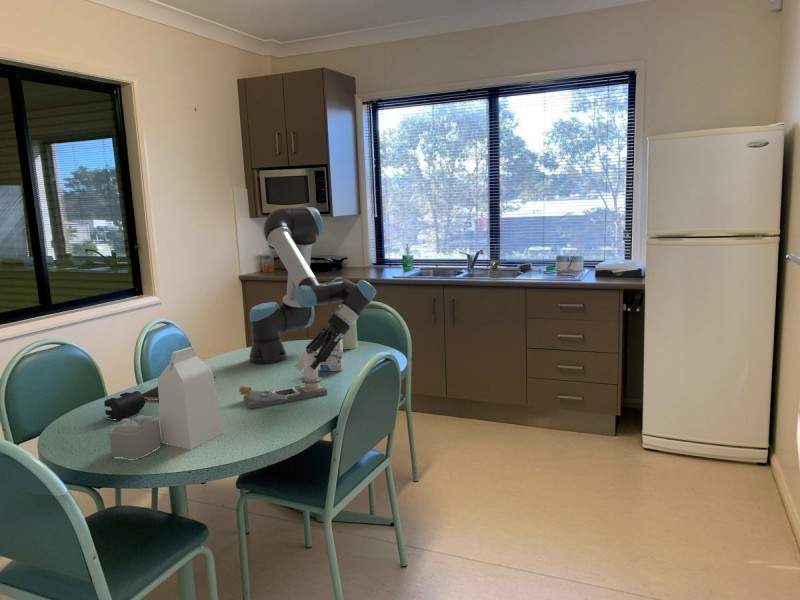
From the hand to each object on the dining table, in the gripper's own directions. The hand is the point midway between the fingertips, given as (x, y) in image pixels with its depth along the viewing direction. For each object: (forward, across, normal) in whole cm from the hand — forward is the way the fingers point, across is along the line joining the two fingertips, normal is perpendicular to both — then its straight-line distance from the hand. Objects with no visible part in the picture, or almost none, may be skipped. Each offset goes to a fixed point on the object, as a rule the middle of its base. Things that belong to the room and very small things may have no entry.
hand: (301, 372), depth 201 cm
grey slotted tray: (+10, 0, +1) cm, 10 cm away
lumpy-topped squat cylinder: (+42, +20, -31) cm, 56 cm away
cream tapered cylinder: (-19, -51, +30) cm, 62 cm away
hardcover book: (+32, -30, -20) cm, 49 cm away
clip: (+14, +3, -6) cm, 15 cm away
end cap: (+45, -12, -33) cm, 57 cm away
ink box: (-7, -22, +18) cm, 30 cm away
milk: (+33, +20, -21) cm, 44 cm away
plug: (+2, 0, +6) cm, 7 cm away
